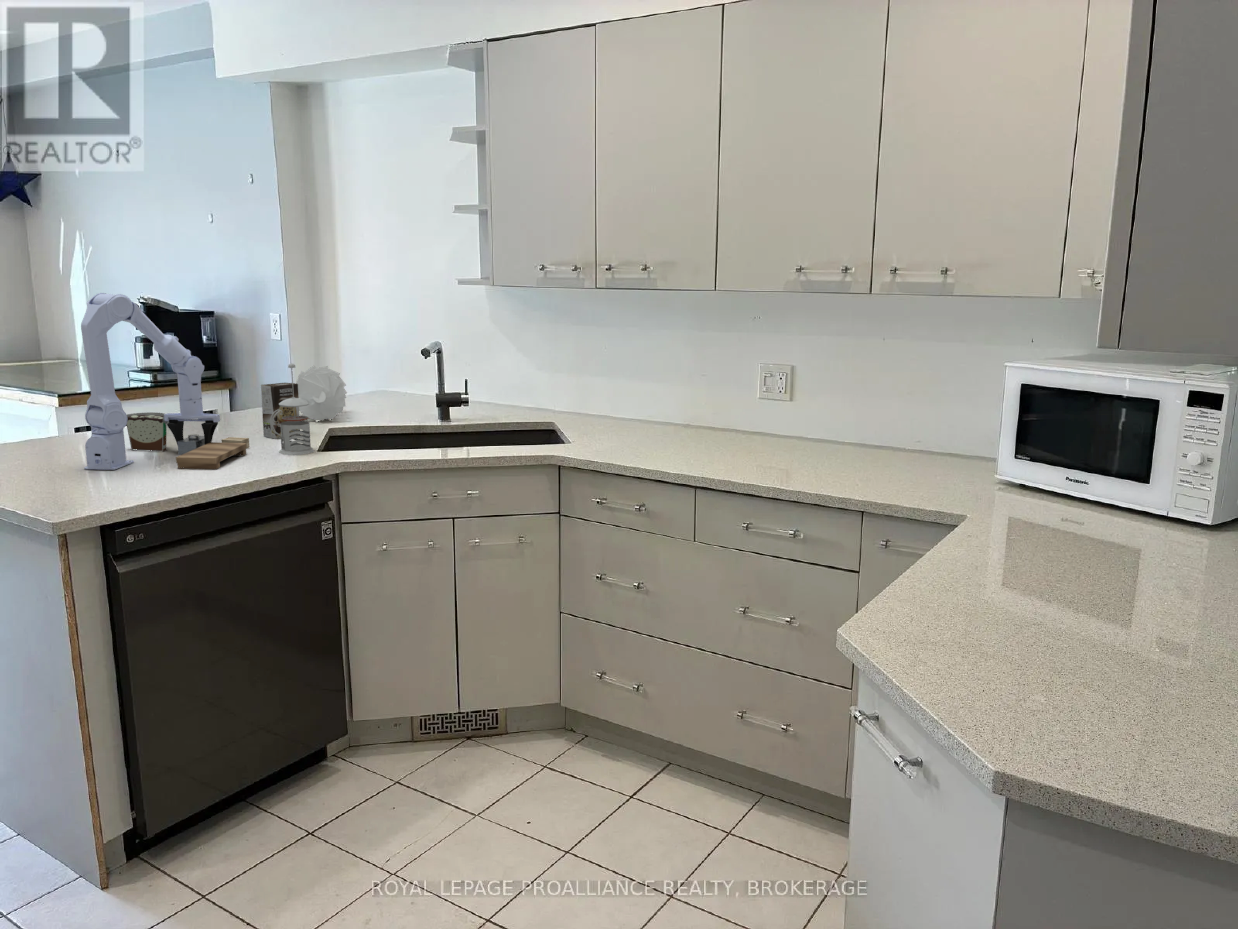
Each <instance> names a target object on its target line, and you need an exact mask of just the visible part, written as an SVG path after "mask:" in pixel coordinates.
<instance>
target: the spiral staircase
mask: <svg viewBox="0 0 1238 929" xmlns="http://www.w3.org/2000/svg"><path fill="white" fill-rule="evenodd" d="M340 374H341V372H337V371H335V370H332V369H330V368H329V365H327V366H317V367H316V366H315V365H314V364H313V365H312V366H311V367H310V368H308V369H307V370H305V371H302V370H301V371H300V373H299V374H298V377H297V380H296V382H295V384H298V397H299V398H300V399H303V400H305V401H307V402H308V403H309V405H307V406H302V407H299V413H301V414H302V415H301V416H307V417H308V419H310V420H314V421H315V422H316V420H322V421H325V420H324V419H326V420H329V419H332V420H333V419H334V418H335V417H336V416H337V415H338V414H339V413H340V414H343V411H344V407H345V408H346V407H347V406H346V398H347V393H348V392H347V391H346V389H345V387H346V386H347V384H346V383H345V382H344V380H343V379H342V378H341V377H340Z"/></svg>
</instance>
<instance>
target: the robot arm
mask: <svg viewBox="0 0 1238 929" xmlns="http://www.w3.org/2000/svg"><path fill="white" fill-rule="evenodd" d="M120 322H124V323H125V322H126V323H130V324H131V325H132V326H133V327H134V328H136V329H137V330H138V331H139V332H140V333H142V334H143V335H144V336H145V337H146V338H147V339H148V340H150V341H151V342H152V343H153V349H154V351H156V353H157V354H159V355H160V356H161V357H162V358H163V359H164V360H165V361H166V362H167V363H169V364H170V366H171V369H172V371H173V372H174V373H176V376H177V387H178V400H179V412H174V413H171V412H169V413H168V412H167V413H165V414H164V419H165V421H169V423H167V429H168V430H170V432H171V434H172V435H173V437H174V439H175V441H176V444H177V446H178V443H177V442H178V441H180V440H183V439H185V438H184V424H185V422H202V423H201V429H202V432H203V436H204V440H205V445H206V444H208V443H210V442H212V441H213V438H214V434H215V431H216V428H217V426H218V424H219V422H221V417H220V415H221V414H219V413H218V414H215V413H205V412H204V408H203V407H204V406H203V405H204V404H203V394H202V392H203V391H202V383H201V382H202V375H203V373H204V370H205V365H204V364H203V363H202V360H201V359H200V358H199V357H198V356H196V355H195V356H194V355H192V351H191V350H190V349H187V348H185V347H184V346H183V345H182V344H181V343H180V342H179V338H178V337H177V336H176V335H175V336H174V335H171V334H164V333H163V332H162V330H161V329H159V327H158V326H156V325H155V323H154V322H153V321H151V319H150V318H149V317H148V316H147V314H145V313H144V311H143V310H141V309H140V307H139V306H138V304H137V303H135V302H134V301H132V300H131V299H130V297H128V296H127V295H125V294H122V293H115V294H114V293H105V292H99V293H96V294H94V295H93V296H92V297H91V298H90V299H89V300H88V301H87V302H86V311H85V313H84V316H83V317H82V320H81V323H80V330H81V337H82V343H83V349H84V350H83V351H84V357H85V363H86V371H87V376H88V383H89V390H90V396H89V398H88V399H87V401H86V405H87V406H86V407H87V408H86V411H85V413H84V419H85V422H86V423H87V425H88V426H90V428H91V430H90V432H91V434H90V437H89V438H88V439H87V440H86V441H85V446H84V448H85V458H86V465H87V466H84V467H83V469H84V470H101V471H102V470H103V471H104V470H105V471H106V470H109V471H110V470H111V471H114V470H117V469H120V468H123V467H125V466H127V465H130V464H133V463H134V462H135V460H131V459H129V460H128V459H127V452H126V445H125V441H126V440H125V432H124V429H125V427H127V425H126V424H127V420H128V419H127V413H126V412H125V409H123V404H122V401H121V400H120V399H119V397H118V396H117V394H116V391H115V383H114V376H113V375H114V374H113V369H112V361H111V355H110V348H109V342H108V341H109V340H108V335H107V334H108V331H110V330H111V329H112V328H113V327H114V326H115V325H116V324H118V323H120Z"/></svg>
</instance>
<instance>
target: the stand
mask: <svg viewBox="0 0 1238 929" xmlns="http://www.w3.org/2000/svg"><path fill="white" fill-rule="evenodd" d="M247 449H248V448H247V444H246V443H222V442H217V441H216V442H210V443H208V444H206V445H203V446H201V447H199V448H196V449H194V450H192V451H189V452H187V453H185V454H183V455H178V456H176V457H175V462H176V464H177V469H187V470H188V469H189V470H191V469H195V470H196V469H199V470H217V469H220V468H221V462H222V461H224V460H226V459H228V458H231V457H232V456H242V455H244V456H245V455H247ZM219 467H220V468H219Z"/></svg>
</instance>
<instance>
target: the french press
mask: <svg viewBox="0 0 1238 929" xmlns="http://www.w3.org/2000/svg"><path fill="white" fill-rule="evenodd" d="M287 366H288V367H287V368H288V369H293V368H294V369H295V368H296V364H294V363H291V362H290V363H289V364H288V365H287ZM293 375H294V374H293V372H291V381H292V382H291V383H292V386H293V383H294V379H293V378H294V377H293ZM279 405H280V406H281V407H302V406H307V405H309V403H308V402H307V401H305V400H303V399H300V398H295V397H294V391H293V397H292V398H289V399H286V400H283V401H282V402H280V403H279ZM278 410H279V409H278ZM278 410H276V411H278ZM276 411H274V412H273V414H274V413H275V412H276ZM280 411H281V413H280ZM278 412H279V413H280V415H282V410H279V411H278ZM278 412H276V414H277V413H278ZM273 414H272V415H271V418H272V416H273ZM276 414H275V415H276ZM275 415H274V417H275ZM274 417H273V420H274ZM271 418H270V426H271ZM281 419H282V420H284V421H286V422H282V423H280V425H281V435H280V434H278V433H277V432H276V431H275V429H274V426H273V421H272V426H273V428H272V426H271V429H272V431H273V432H274V431H275V432H274V433H275V434H278V435H280V436H281V438H280V444H281V445H280V446H281V447H280V450H279V451H278V454H279V455H284V456H285V455H287V456H298V455H308V454H311V453H312V454H313V453H314V452H315V451H316V450H315V449H314V448H313V447H312V446H311V428H310V421H306V420H308V419H309V418H308V417H307V416H302V415H299V416H298V415H297V416H295V408H294V416H285V417H282V418H281ZM273 429H274V430H273ZM282 429H283V430H282ZM296 429H300V430H296ZM291 430H292V431H295V432H289V431H291ZM282 433H283V435H282ZM298 434H300V435H298ZM290 435H294V436H290Z"/></svg>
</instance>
